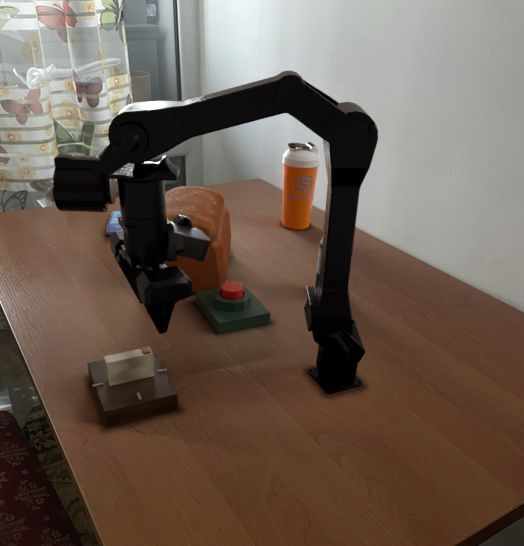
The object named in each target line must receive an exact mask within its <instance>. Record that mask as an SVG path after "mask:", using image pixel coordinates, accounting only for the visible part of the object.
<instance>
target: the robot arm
mask: <svg viewBox="0 0 524 546" xmlns="http://www.w3.org/2000/svg"><path fill="white" fill-rule="evenodd" d="M283 114H287V115H289V116H291V117H292V118H293V119H295V120H296V121H298V122H299V123H301V124H302V125H303V126H305V127H306V128H307V129H309V130H310V131H311V132H312V133H314V134H315V135H317V136H318V137H320V138H321V139H322V143H323V144H322V147H323V157H324V163H325V170H326V177H327V185H326V186H327V187H326V197H325V209H324V223H323V233H322V238H323V244H322V256H321V268H320V277H319V280H318V282H317V284H316V286H315V285H314V287H312V286H305V292H306V303H305V304H304V307H303V311H304V312H303V313H304V317H305V323H306V327H307V331H308V333H309V332H311V335H312V339H313V341H314V343H316V344H317V345H318V346H317V355H316V363H315V367H311V368H308V369H307V374H308V375H309V376H310V377H311V379H313V381H314V382H315V383H316V384H317V385H318V386H319V388H320V389H321V390H322V391H323V392H324V393H325V394H326V395H333V394H337V393H341V392H344V391H348V390H351V389H355V388H358V387H361V386H363V381H362V379H360V377H358V376H357V372H358V365H359V363H360V362H361V361H362V359H363V357H364V356H365V354H366V349H365V346H364V343H363V340H362V338H361V335H360V332H359V329H358V326H357V321H356V320H355V319H354V318H353V314H352V307H351V300H350V293H349V283H350V276H351V275H350V274H351V267H352V258H353V249H354V241H355V234H356V226H357V225H356V224H357V216H358V209H359V208H358V207H359V201H360V200H359V198H360V191H361V187H362V184H363V183H364V181H365V179H366V177H367V174H368V173H369V170H370V169H371V165H372V162H373V158H374V155H375V152H376V149H377V145H378V141H379V129H378V126H377V124H376V122H375V121H374V119H373V118H372V117H371V116H370V115H369V114H368V113H367V111H366V110H365V109H363V107H362V106H360V105H358V104H357V103H356V102H351V101H343V102H338V101H337V100H335V98H333V97H332V96H330V95H328V94H327V93H325V92H324V91H322V90H320V89H319V88H318V87H315V86H314V85H313V84H311V83H309V82H308V81H307V80H305V79H304V78H303V77H302V75H300V74H299V73H298V72H296V71H294V70H283V71H281V72H280V73H278V74H277V75H273V76H270V77H266V78H263V79H260V80H255V81H252V82H248V83H244V84H240V85H237V86H233V87H230V88H226V89H222V90H219V91H216V92H212V93H207V94H204V95H200V96H196V97H193V98H190V99H189V98H188V99H184V100H151V101H136V102H131V103H129V104H127V105H125V106H124V107H123V108H122V109H121V110H120V111H119V112H118V113H117V114H116V115H115V116H114V118H112V119H111V121H110V124H109V126H108V131H107V138H108V145H106V146H105V147H104V149H103V150H102V151H101V152H100V154H98V155H75V154H71V153H58V154H56V156H55V157H54V158H53V163H54V171H53V177H52V178H53V180H52V181H53V187H52V190H51V191H52V197H53V201H54V205H55V207H56V209H57V210H58V211H60V212H79V213H82V212H83V213H85V212H86V213H107V211H108V209H109V206H110V205H115V204H116V201H117V192H118V200H119V210H121V216H118V223H119V225H120V226H121V228H122V229H123V230H120V231H115V232H114V233H113V234H112V235H109V237H108V241H109V245H110V246H109V248H110V251H111V253H112V254H113V258H114V260H115V261H116V263H117V265H118V266H119V267H118V268H120V269H121V272H122V274H123V275H124V277H125V279H126V281H127V282H128V285H129V286H130V288H131V290H132V291H133V293H134V295H135V297H136V299H137V300H138V302H139V304H140V305H141V304H142V305H143V307H144V308H145V311H146V312H147V314H148V316H149V318H150V320H151V322H152V324H153V325H154V327H155V329H156V331H157V333H158V334H160V335H163V334H166V333H167V332H168V329H169V326H170V322H171V318H172V315H173V312H174V309H175V306H176V304H177V303H178V302H179V301H184V300H186V299H189V298H191V297H192V296H193V294H194V293H193V291H192V281H191V280H190V279H189V277H188V276H187V275H186V274H185V273H184V271H182V270H181V269H180V268H178V267H177V266H172V267H166V265H165V264H164V261H168V262H173V261H177V255H178V256H181V257H186V258H192V259H196V260H197V261H200V262H203V261H204V260H205V257H206V254H207V251H208V247H209V244H210V241H211V240H210V239H209V238H208V237H207V236H206V235H205V234H204V233H203V232H202V231H201V230H198V229H197V228H196V227H193V228H192V222H191V220H190V219H189V218H188V217H187V216H183V215H179V214H178V215H177V216H176V217H175V219H174V220H173V221H172V222H170V221H169V220H168V219H167V216H166V201H165V195H166V187H165V182H166V181H167V182H168V181H170V182H172V181H173V182H174V181H177V179H178V177H179V173H180V167H178V166H177V165H176V164H174V163H173V162H172V161H171V160H170V158H169V157H168V156H167V155H163V154H165V153H168V151H171V150H173V149H174V148H176V147H177V146H179V145H181V144H182V143H185V142H186V141H188V140H191V139H193V138H195V137H196V138H197V137H199V136H204V135H207V134H211V133H215V132H218V131H222V130H226V129H230V128H233V127H238V126H241V125H245V124H249V123H253V122H255V121H261V120H263V119H267V118H268V119H269V118H271V117H272V118H273V117H275V116H280V115H283ZM162 155H163V156H162ZM159 156H162V158H160V160H159V161H156V162H155V161H151V160H152V159H155V158H157V157H159ZM128 164H132V165H133V167H132V166H131V167H125V166H126V165H128ZM117 189H118V191H117Z"/></svg>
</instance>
